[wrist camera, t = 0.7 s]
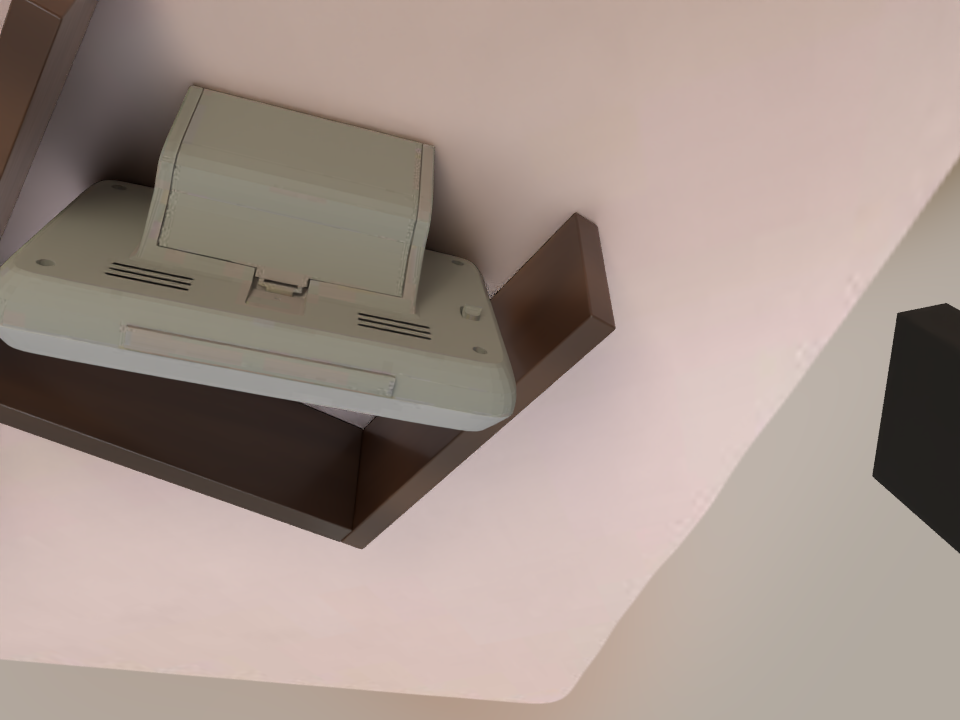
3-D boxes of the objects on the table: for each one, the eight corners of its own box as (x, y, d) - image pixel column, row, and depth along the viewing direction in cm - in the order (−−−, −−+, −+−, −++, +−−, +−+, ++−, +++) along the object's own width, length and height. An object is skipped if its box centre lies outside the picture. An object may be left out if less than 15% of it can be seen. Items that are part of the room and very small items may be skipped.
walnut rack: (87, -93, 26) (14, -9, 22) (598, 225, 34) (616, 329, 30) (-50, 276, 36) (-118, 382, 32) (371, 449, 45) (362, 550, 40)
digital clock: (65, 202, 33) (-48, 410, 26) (113, -4, 28) (-15, 188, 20) (440, 339, 39) (435, 543, 32) (544, 192, 33) (567, 398, 26)
